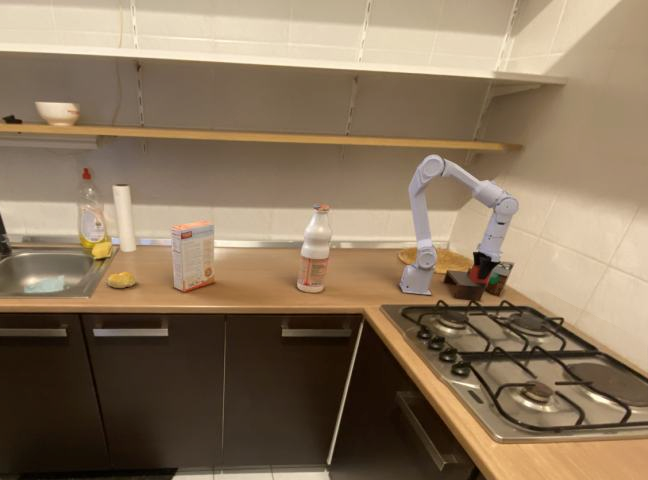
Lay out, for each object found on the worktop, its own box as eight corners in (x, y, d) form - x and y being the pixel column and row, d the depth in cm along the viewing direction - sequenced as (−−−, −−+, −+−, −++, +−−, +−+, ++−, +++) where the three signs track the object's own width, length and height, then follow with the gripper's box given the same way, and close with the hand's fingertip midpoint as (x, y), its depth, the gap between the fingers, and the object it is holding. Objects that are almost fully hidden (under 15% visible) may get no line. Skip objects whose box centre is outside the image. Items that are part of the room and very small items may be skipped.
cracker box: (203, 278, 140) (203, 219, 130) (214, 283, 136) (215, 223, 126) (172, 287, 131) (169, 225, 121) (183, 292, 128) (181, 229, 117)
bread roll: (105, 282, 133) (103, 271, 131) (130, 278, 137) (129, 268, 135) (112, 290, 127) (110, 279, 125) (138, 286, 131) (137, 275, 129)
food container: (485, 284, 147) (495, 258, 142) (504, 288, 143) (514, 262, 138) (479, 292, 138) (489, 266, 133) (498, 297, 135) (509, 270, 130)
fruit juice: (291, 288, 135) (301, 205, 121) (304, 281, 141) (314, 202, 127) (316, 295, 130) (329, 209, 116) (327, 287, 137) (341, 205, 123)
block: (472, 282, 127) (477, 269, 125) (468, 277, 131) (472, 264, 129) (487, 283, 127) (492, 270, 124) (482, 279, 130) (487, 266, 128)
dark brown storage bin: (455, 298, 133) (461, 280, 130) (442, 282, 146) (448, 266, 143) (480, 300, 132) (487, 283, 128) (465, 284, 145) (471, 268, 142)
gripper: (517, 242, 115) (500, 285, 121) (499, 231, 127) (484, 270, 134) (492, 240, 116) (476, 283, 122) (476, 229, 128) (462, 268, 135)
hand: (478, 276), depth 128 cm, fingers closed on block, 4 cm apart
